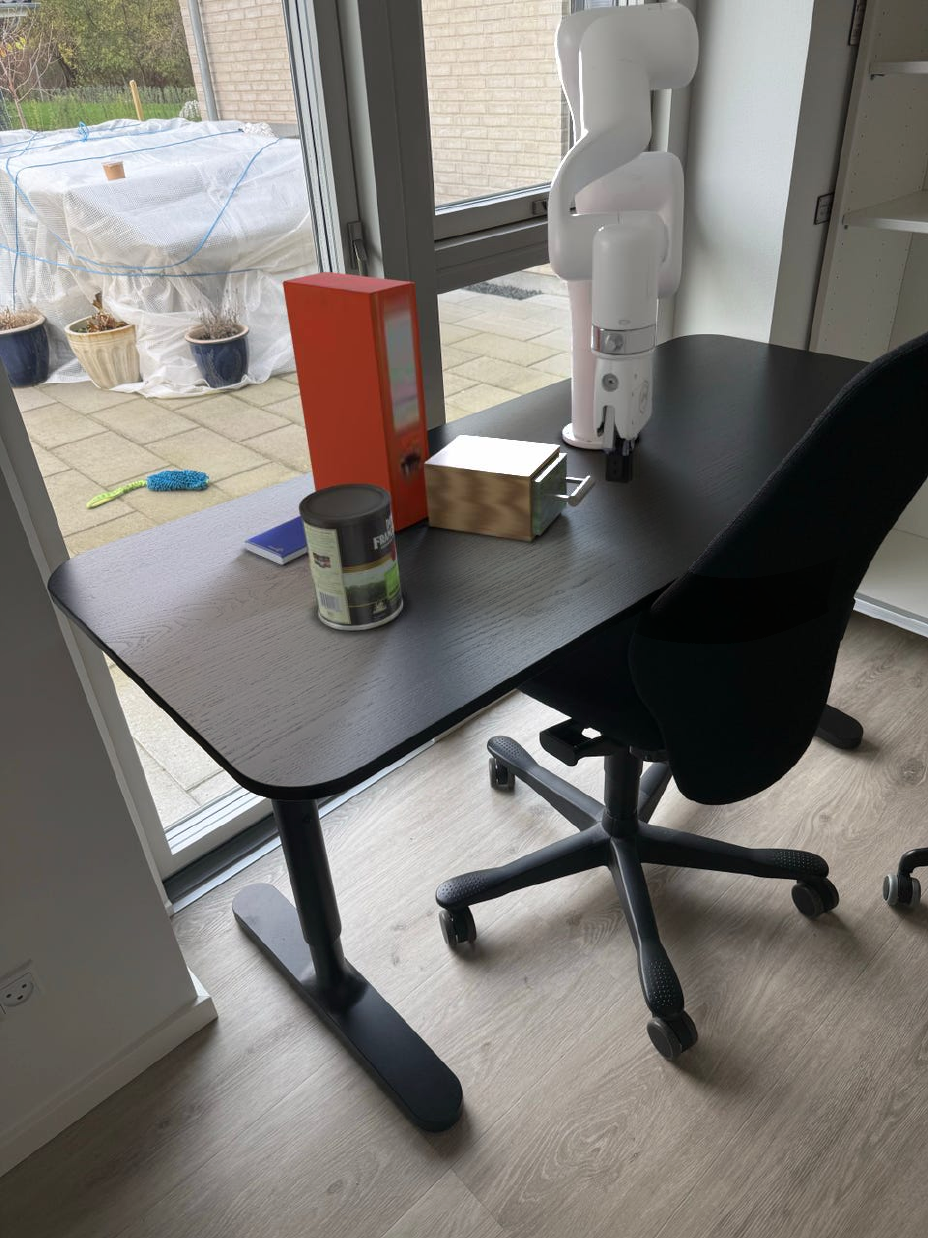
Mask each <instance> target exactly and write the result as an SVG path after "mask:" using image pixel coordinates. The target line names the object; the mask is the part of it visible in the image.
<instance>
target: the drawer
mask: <svg viewBox="0 0 928 1238" xmlns="http://www.w3.org/2000/svg"><path fill="white" fill-rule="evenodd" d="M567 456H568V455H567V453H565V452H564V453H562V452H560V453H558V454H557V455H556V456H555V457H554V458H553V459H552V460H551V461H550V462H549V461H548V462H547V463H546V464H545V465H544V466H543V467H542V468H541V469H540V470H539V471H538V472H537V473H536V476H535V477H534V478H533V479H532V480H531V503H532V534H535V535H536V536H541V535H542V534H543V533H544V532H545V531H546V530H547V528H548V527H549V526H550V525H551V524H552V523H553V522H554V521H555V519H556V518H557V517H558V516H559V515H560V514H561V512H562V511H563V510H564V509H566V507H567V505H569V506H570V507H572V508H576V507H578V506H579V505H580V504H581V502H582V501H583V500H584V498H586V496H587V495H588V494H589V493H590V492H591V490H592V489H593V488H594V487H595V485H596V484H597V480H596V478H595V476H592V475H587V476H586V477H585V478H579V477H572V476H571V477H569V476H568V461H567V459H568V457H567ZM568 484H574V485H577V487H576V488H575V489H574V490H573V492H572V493H570V495H568Z"/></svg>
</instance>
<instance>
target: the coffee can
mask: <svg viewBox="0 0 928 1238" xmlns="http://www.w3.org/2000/svg"><path fill="white" fill-rule="evenodd" d="M298 512H299V516H301V517H302V522H303V527H304V533H305V539H306V544H307V550H308V552H307V555H308V560H309V566H310V572H311V576H312V582H313V587H314V593H315V598H316V599H315V600H316V603H317V611H318V613H317V614H318V618H319V619H320V621H321V622H322V623H323V624H324V625H325V626H328V627H330V628H332V629H336V630H339V631H340V630H341V631H347V632H348V631H349V632H352V631H366V630H371V629H375V628H378V627H380V626H383V625H386V624H388V623H389V622H391V621H393V620H395V618H396V617H398V616H399V614H400V613H401V612H402V611H403V607H404V599H403V598H402V597H403V596H402V588H401V581H400V573H399V564H398V555H397V548H396V537H395V531H394V528H393V521H392V512H391V496H390V493H389V492H388V491H387V490H385V489H384V488H382V487H379V486H376V485H371V484H359V483H355V484H342V485H336V486H331V487H327V488H324V489H321V490H318V491H313V492H311V493H310V494H308V495H306V496H305V497H304V498H303V499H302V500H301V501H300V502H299V504H298Z"/></svg>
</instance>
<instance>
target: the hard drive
mask: <svg viewBox="0 0 928 1238" xmlns="http://www.w3.org/2000/svg"><path fill="white" fill-rule="evenodd" d="M244 544H245V548H246V550H248V551H249V552H251V553H253V554H255V555H258V556H260V557H263V558H265V559H267V560H270V561H271V562H274V563H277V564H279V565H281V566H282V565H285V564H287V563H289V562H291V561H293V560H294V559H295V560H296V559H297V558H299V557H301V556H303V555H305V554H308V550H307V544H306V539H305V533H304V527H303V522H302V517H301V516H300V515H299V516H297V517H294V518H292V519H290V520H288V521H286V522H283V523H280V524H279V525H277V526H274V527H272V528H270V529H268V530H266V531H264V532H261V533H259V534H257V535H254V536H253V537H250V538H248V539H246V540H245V541H244Z"/></svg>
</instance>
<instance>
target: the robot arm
mask: <svg viewBox="0 0 928 1238" xmlns="http://www.w3.org/2000/svg"><path fill="white" fill-rule="evenodd" d="M699 42H700V39H699V32H698V27H697V23H696V20H695V17H694V15H693V13H692V12H691V10H690V9H689V8H688V7H687V6H685V5H684V4H682V3H680V2H677V1H668V2H653V3H642V4H631V5H630V4H629V5H628V4H626V5H613V6H612V5H611V6H601V7H592V8H586V9H582V10H578V11H575V12H573V13H571V14H568V15H566V16H565V17H564V18H563V19H562V20H560V22H559V24H558V26H557V28H556V31H555V42H554V47H555V58H556V64H557V70H558V75H559V80H560V82H561V85H562V89H563V92H564V94H565V97H566V100H567V103H568V106H569V109H570V113H571V117H572V121H573V133H574V134H573V140H574V143H573V147H572V148H571V149H570V150H569V151H568V152H567V154H566V155H565V157H564V158H563V160H562V161H561V163H560V165H559V166H558V168H557V170H556V172H555V175H554V176H553V179H552V181H551V185H550V189H549V192H548V193H549V194H548V201H547V240H548V242H547V245H548V246H547V247H548V260H549V264H550V267H551V270H552V272H553V274H554V275H555V276H556V277H557V278H558V279H560V280H561V281H565V282H566V284H567V291H568V298H569V307H570V327H571V328H570V329H571V330H570V331H571V423H569V424H567V425H566V426H564V428H563V429H562V439H563V441H564V442H565V443H567V444H568V445H570V446H574V447H576V448H581V449H588V450H602V451H604V452H605V471H604V472H605V473H604V475H605V476H604V479H605V481H606V482H609V483H615V484H616V483H617V484H624V485H628V484H629V483H630V482H631V480H632V479H633V477H634V460H635V459H634V455H635V454H634V452H635V450H634V448H635V442H636V439H637V438H638V435H639V433H640V432H641V430H642V429H643V428H644V427H645V425H646V424H647V423H648V421H649V420H650V419H651V417H652V414H653V356H652V354H653V353H654V352H655V351H656V341H657V340H656V339H657V317H658V300H663V299H667V298H670V297H672V296H673V295H674V294H675V293H676V292H677V291H678V290H679V286H680V282H681V278H682V270H683V269H682V268H683V267H682V266H683V243H684V242H683V239H684V213H685V211H684V210H685V175H684V170H683V169H684V168H683V166H682V163H681V160H680V159H679V157H678V156H677V155H675V154H674V153H672V152H670V151H663V150H659V151H645V150H646V148H647V147H648V146H649V143H650V141H651V138H652V133H653V131H652V130H653V128H652V127H653V126H652V125H653V124H652V112H651V111H652V110H651V109H652V108H651V91H659V90H673V89H681V88H682V89H683V88H685V87H686V86H688V85H689V84H690V83H691V82H692V80H693V78H694V76H695V74H696V71H697V66H698V62H699V55H700V53H699V52H700V43H699ZM573 199H574V203H575V211H576V214H575V213H574V214H571V203H572V201H573Z"/></svg>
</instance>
